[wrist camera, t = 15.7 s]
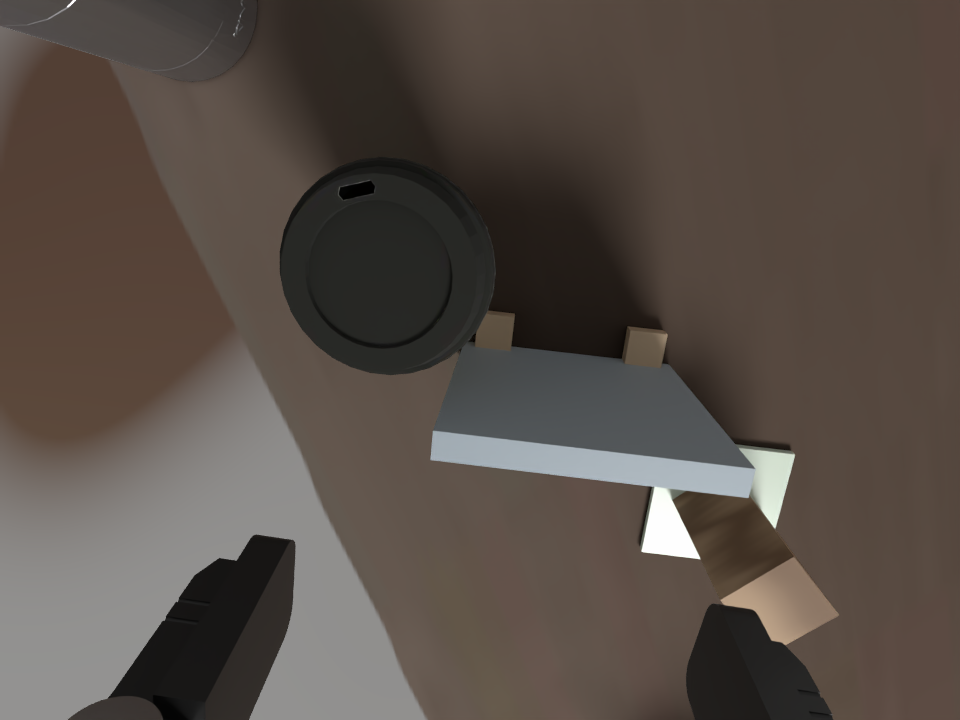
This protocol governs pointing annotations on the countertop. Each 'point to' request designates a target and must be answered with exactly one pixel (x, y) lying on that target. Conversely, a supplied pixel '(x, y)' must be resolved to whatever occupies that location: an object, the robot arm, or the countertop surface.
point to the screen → (584, 415)
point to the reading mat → (662, 516)
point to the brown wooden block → (753, 564)
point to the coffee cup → (387, 266)
